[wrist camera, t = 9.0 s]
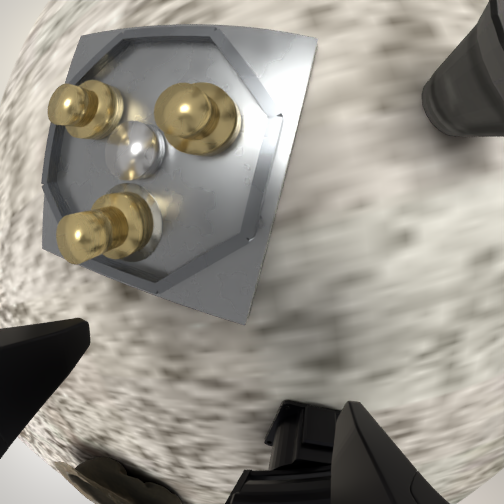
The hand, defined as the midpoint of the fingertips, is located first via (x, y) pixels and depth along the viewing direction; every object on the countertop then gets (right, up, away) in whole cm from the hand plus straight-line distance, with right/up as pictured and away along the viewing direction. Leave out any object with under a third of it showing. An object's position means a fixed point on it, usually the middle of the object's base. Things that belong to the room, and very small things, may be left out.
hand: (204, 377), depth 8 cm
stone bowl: (-19, -35, +25) cm, 47 cm away
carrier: (-6, +11, +11) cm, 17 cm away
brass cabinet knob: (-7, +6, +11) cm, 15 cm away
